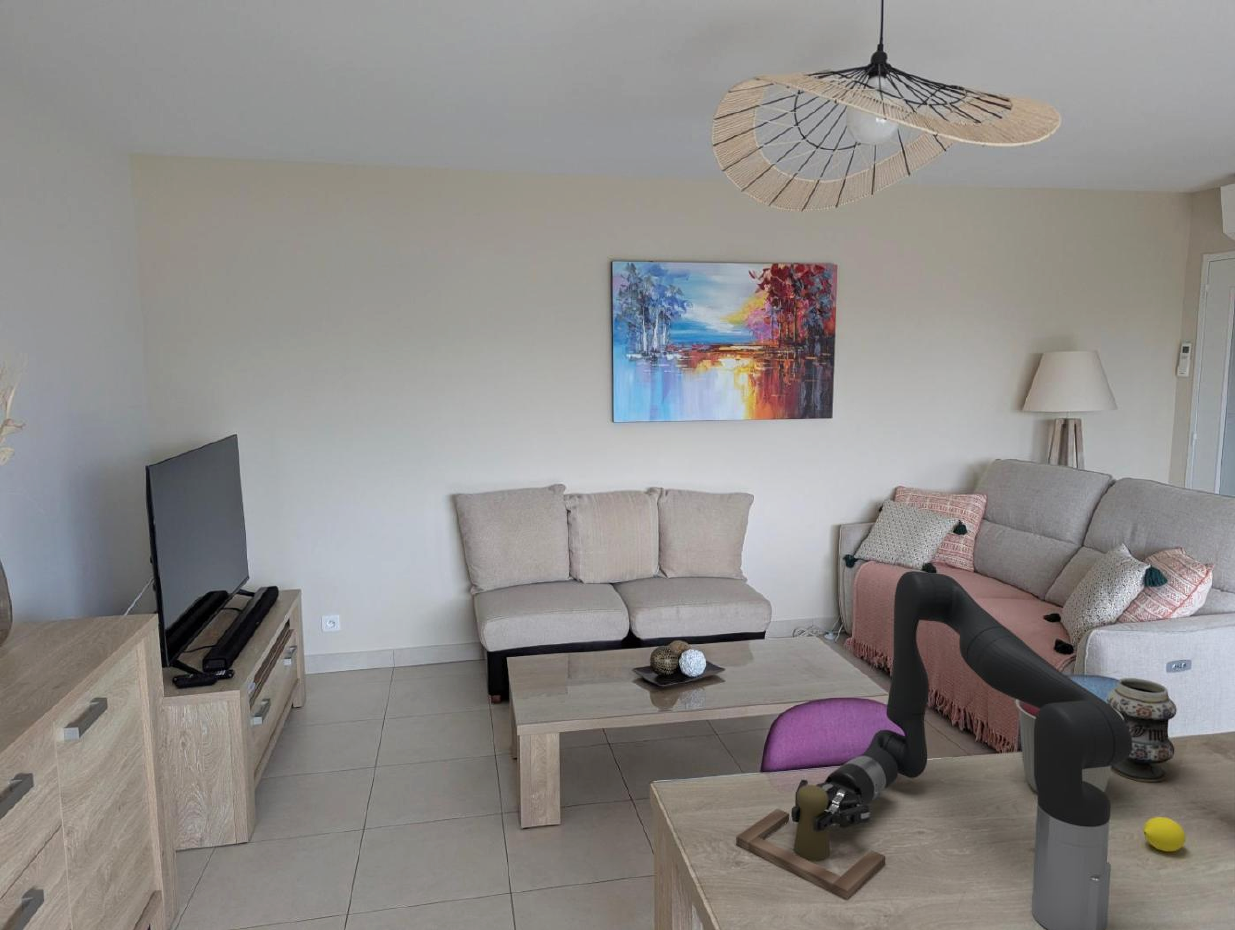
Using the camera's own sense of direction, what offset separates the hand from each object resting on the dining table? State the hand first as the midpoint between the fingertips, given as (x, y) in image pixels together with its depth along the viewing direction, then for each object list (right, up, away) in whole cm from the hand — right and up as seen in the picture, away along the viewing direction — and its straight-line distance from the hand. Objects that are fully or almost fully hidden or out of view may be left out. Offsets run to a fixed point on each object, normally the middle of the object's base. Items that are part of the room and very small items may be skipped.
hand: (804, 821), depth 135 cm
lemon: (+61, -6, +3) cm, 62 cm away
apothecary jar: (+74, -3, +29) cm, 80 cm away
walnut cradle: (+1, -6, +2) cm, 7 cm away
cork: (+2, -6, +3) cm, 7 cm away
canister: (+55, -4, +22) cm, 59 cm away
